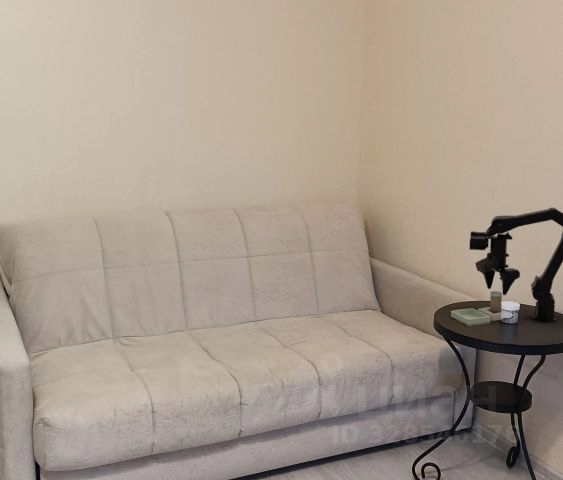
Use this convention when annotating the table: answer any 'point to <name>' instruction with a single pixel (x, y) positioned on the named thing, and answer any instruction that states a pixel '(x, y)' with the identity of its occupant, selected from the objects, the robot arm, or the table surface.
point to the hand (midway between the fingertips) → (496, 291)
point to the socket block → (490, 313)
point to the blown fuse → (495, 302)
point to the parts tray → (470, 317)
